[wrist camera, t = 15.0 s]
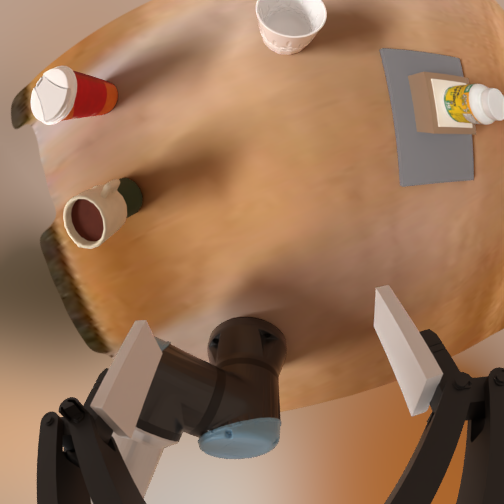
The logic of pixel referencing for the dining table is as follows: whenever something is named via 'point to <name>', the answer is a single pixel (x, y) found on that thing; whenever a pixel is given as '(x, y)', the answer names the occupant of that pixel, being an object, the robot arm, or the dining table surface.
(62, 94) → the paper cup
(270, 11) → the white cup
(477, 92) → the supplement bottle
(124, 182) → the character mug
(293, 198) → the dining table surface
